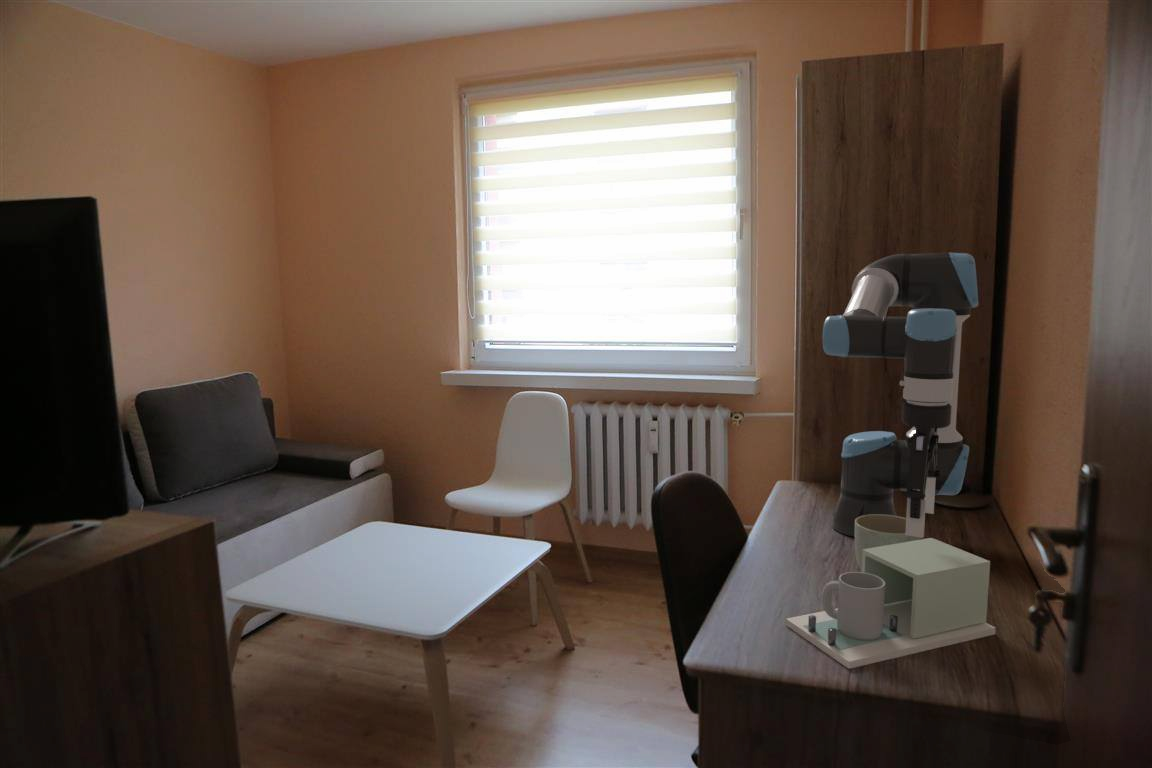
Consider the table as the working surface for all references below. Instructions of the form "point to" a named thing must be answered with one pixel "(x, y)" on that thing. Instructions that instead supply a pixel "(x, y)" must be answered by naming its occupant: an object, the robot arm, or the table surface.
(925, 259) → the robot arm
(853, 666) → the board
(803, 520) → the table surface
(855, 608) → the cup
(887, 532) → the planter
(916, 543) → the hood
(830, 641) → the pins
